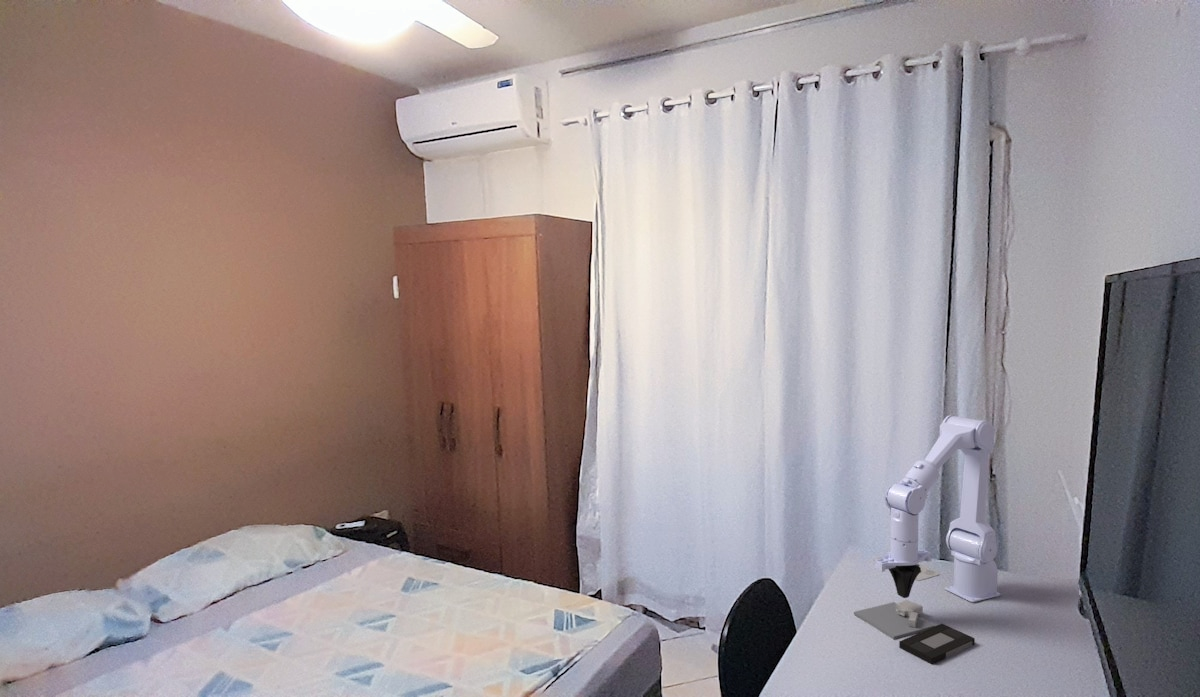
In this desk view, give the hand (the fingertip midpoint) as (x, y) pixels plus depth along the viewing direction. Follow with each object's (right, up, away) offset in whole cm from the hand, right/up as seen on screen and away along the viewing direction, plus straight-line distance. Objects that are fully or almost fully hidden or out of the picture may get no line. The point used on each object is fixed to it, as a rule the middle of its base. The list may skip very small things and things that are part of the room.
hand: (903, 595), depth 151 cm
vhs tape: (+2, -7, -11) cm, 13 cm away
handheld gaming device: (+14, -3, +28) cm, 31 cm away
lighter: (+5, -4, +2) cm, 6 cm away
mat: (-2, -6, 0) cm, 6 cm away
